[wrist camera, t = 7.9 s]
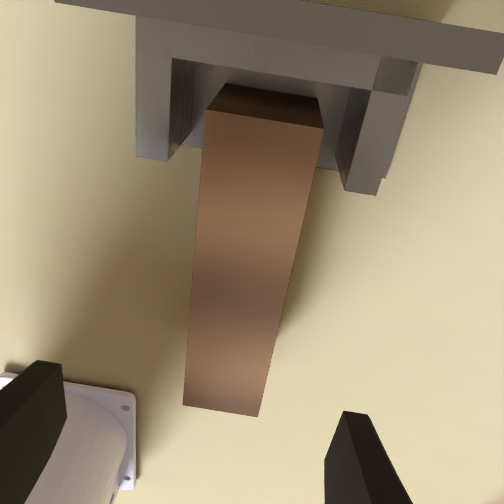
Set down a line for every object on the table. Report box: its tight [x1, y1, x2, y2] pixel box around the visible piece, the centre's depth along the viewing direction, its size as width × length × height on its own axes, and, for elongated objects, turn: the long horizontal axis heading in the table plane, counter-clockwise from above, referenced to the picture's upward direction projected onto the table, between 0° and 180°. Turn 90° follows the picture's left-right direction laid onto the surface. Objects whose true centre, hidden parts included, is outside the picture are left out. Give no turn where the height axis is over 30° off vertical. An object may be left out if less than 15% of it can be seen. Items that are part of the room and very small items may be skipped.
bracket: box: [54, 0, 504, 196], centre depth 13 cm, size 5×10×6 cm, turn 82°
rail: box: [183, 83, 324, 417], centre depth 17 cm, size 13×3×4 cm, turn 172°
